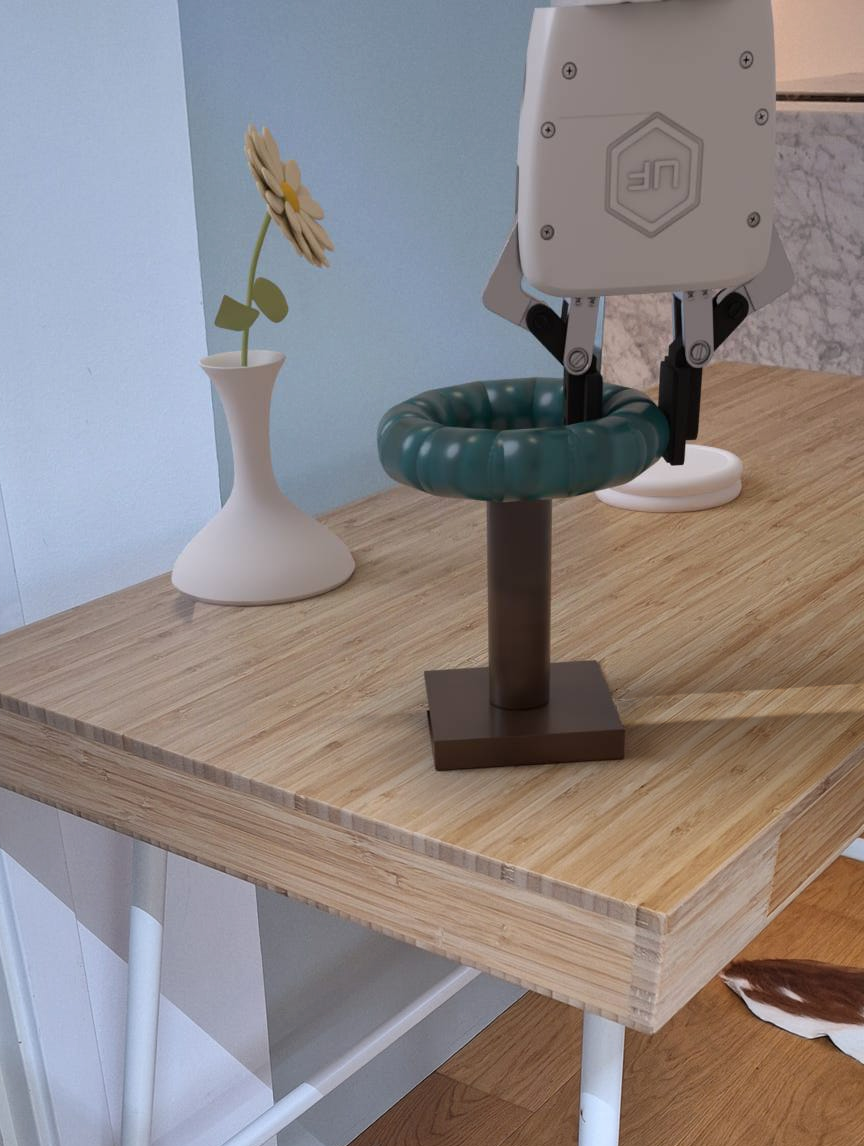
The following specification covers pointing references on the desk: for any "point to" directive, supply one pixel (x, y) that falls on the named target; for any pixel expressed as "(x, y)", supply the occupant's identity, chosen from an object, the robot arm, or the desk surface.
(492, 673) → the post
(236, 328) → the flower in vase
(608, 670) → the desk surface
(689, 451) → the white grooved disc
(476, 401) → the ring
